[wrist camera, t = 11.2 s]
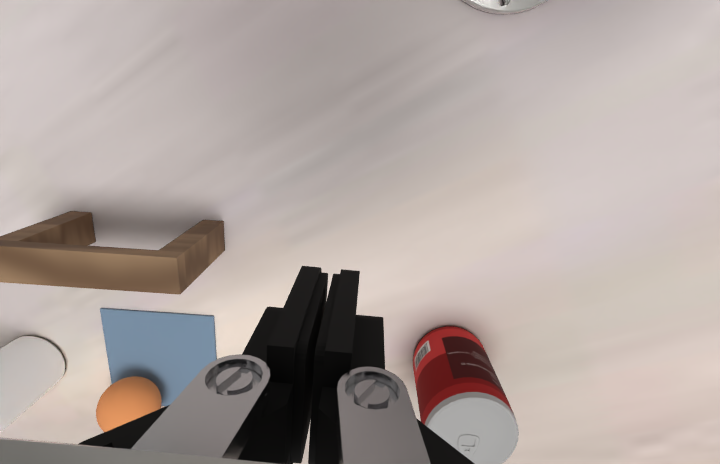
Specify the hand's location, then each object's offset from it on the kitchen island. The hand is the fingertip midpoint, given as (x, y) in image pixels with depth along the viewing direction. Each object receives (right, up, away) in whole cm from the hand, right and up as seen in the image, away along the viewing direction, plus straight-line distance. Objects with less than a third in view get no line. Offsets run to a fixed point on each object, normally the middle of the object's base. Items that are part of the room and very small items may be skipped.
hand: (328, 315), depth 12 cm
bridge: (-20, +2, +28) cm, 34 cm away
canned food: (+10, -11, +31) cm, 35 cm away
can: (-35, -12, +33) cm, 50 cm away
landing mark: (-21, -12, +33) cm, 40 cm away
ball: (-24, -16, +31) cm, 42 cm away
